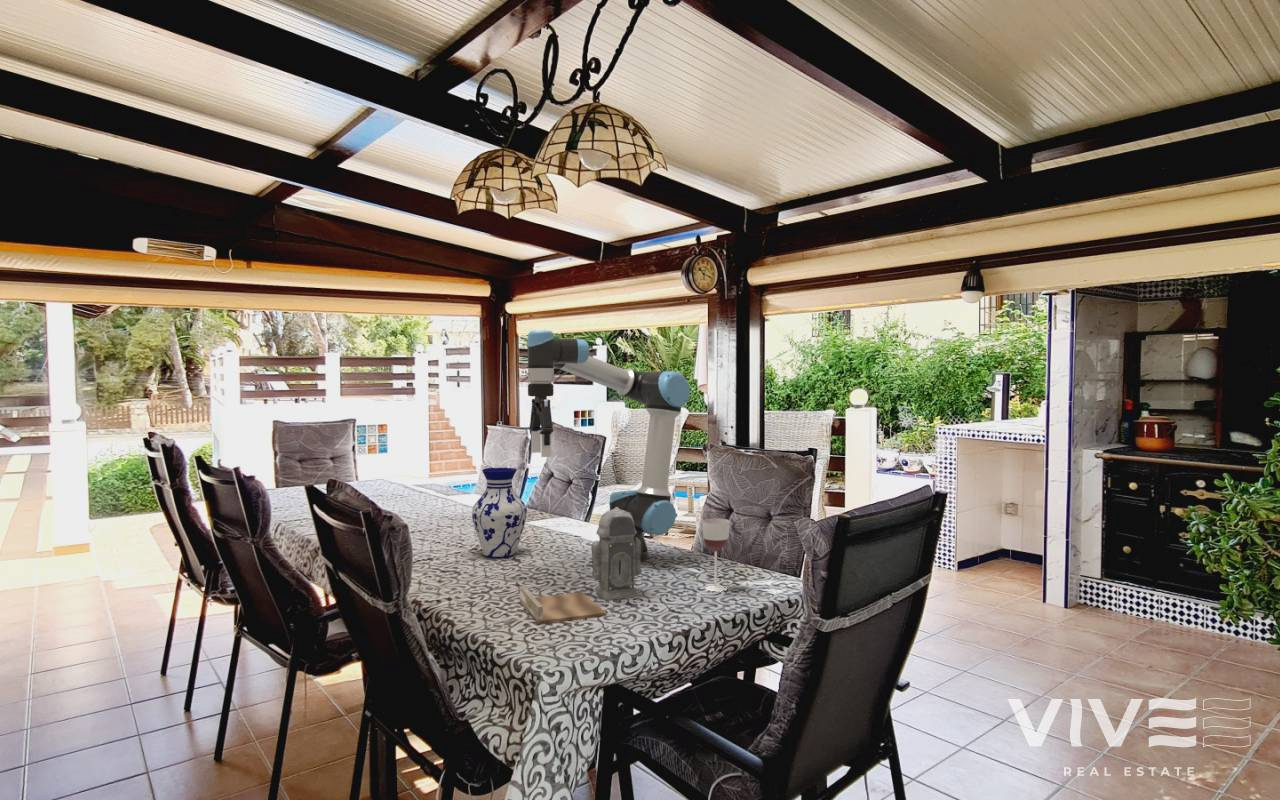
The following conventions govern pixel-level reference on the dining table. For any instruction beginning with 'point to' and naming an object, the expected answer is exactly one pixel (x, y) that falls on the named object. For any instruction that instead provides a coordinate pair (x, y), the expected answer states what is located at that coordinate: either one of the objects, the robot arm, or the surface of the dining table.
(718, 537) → the wineglass
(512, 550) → the vase
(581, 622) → the dining table surface
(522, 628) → the dining table surface
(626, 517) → the figurine
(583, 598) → the shelf board
